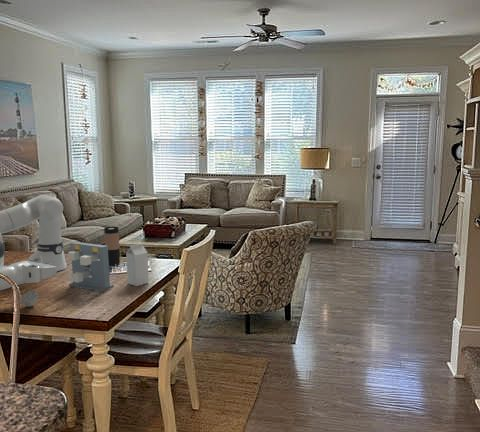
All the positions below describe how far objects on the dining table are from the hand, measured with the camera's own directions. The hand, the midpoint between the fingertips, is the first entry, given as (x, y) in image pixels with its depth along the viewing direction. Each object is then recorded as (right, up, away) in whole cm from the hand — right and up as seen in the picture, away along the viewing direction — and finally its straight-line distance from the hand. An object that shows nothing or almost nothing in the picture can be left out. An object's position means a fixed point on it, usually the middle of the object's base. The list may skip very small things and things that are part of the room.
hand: (50, 264), depth 205 cm
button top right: (+16, 0, +7) cm, 17 cm away
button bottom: (+11, -8, +11) cm, 17 cm away
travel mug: (+13, -5, +55) cm, 56 cm away
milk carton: (+34, -11, +20) cm, 41 cm away
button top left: (+8, +2, +15) cm, 17 cm away
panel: (+13, -12, +16) cm, 24 cm away
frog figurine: (-4, -17, -10) cm, 20 cm away
